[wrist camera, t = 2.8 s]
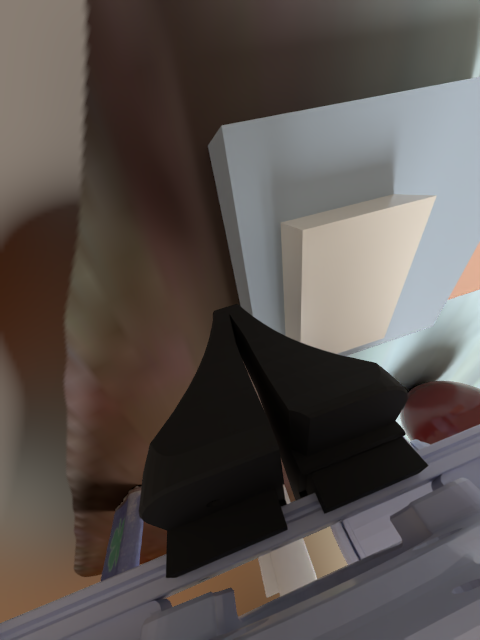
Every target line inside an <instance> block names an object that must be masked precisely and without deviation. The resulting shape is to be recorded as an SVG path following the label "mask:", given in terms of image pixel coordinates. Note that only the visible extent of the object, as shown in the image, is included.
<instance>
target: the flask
mask: <svg viewBox="0 0 480 640" xmlns="http://www.w3.org/2000/svg"><path fill="white" fill-rule="evenodd" d="M141 487H142V486H141ZM141 487H138V486H136V487H135V488H134V489H131V490H130V491H129V494H128V495H127V496H125V498H124V499H123V500H124V501H123V502H121V505H119V506H118V507H117V508H116V509H115V515H114V520H113V525H112V529H111V535H110V539H109V544H108V548H107V554H106V559H105V563H104V568H103V572H102V577H101V581H103V580H106V579H108V578H111V577H113V576H115V575H118V574H120V573H123V572H125V571H127V570H130V569H132V568H135V567H137V566H139V558H140V548H141V541H142V531H143V520H142V519H141V518H140V517H139V504H140V496H141Z"/></svg>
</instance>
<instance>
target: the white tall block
mask: <svg viewBox="0 0 480 640" xmlns="http://www.w3.org/2000/svg"><path fill="white" fill-rule="evenodd" d="M283 488H284V495H285V500H286V503H287V504H289V503H290V500H289V497H288V494H287V491H286V489H285V486H284V485H283ZM258 559H259V564H260V568H261V574H262V578H263V583H264V588H265V592H266V597H270V596H272V595H274V594H276V593H280V597H281V596H283V595H285V594H287V593H289V592H291V591H293V590H295V589H297V588H300V587H302V586H304V585H306V584H308V583H310V582H312V581H314V580H317V576H316V574H315V571H314V568H313V565H312V562H311V559H310V557H309V554H308V551H307V548H306V545H305V542H304V540H303V538H302V539H300V540H297V541H295V542H293V543H290V544H288V545H286V546H284V547H281V548H279V549H277V550H274V551H272V552H270V553H268V554H265V555H263V556H261V557H258Z"/></svg>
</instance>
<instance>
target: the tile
mask: <svg viewBox="0 0 480 640" xmlns="http://www.w3.org/2000/svg"><path fill="white" fill-rule="evenodd" d="M436 196H437V195H405V194H392V195H388V196H384V197H380V198H376V199H373V200H369V201H365V202H361V203H357V204H353V205H349V206H345V207H341V208H337V209H333V210H329V211H325V212H321V213H317V214H313V215H309V216H305V217H301V218H297V219H293V220H289V221H285V222H281V244H282V267H283V290H284V313H285V336H287V337H289V338H291V339H294V340H296V341H299V342H301V343H304V344H307V345H309V346H312V347H315V348H318V349H321V350H324V351H328V352H331V353H335V354H338V353H341V352H344V351H347V350H350V349H353V348H356V347H359V346H362V345H365V344H368V343H371V342H374V341H377V340H380V339H383V338H384V337H385V334H386V332H387V329H388V326H389V324H390V321H391V318H392V315H393V313H394V310H395V307H396V305H397V302H398V299H399V297H400V294H401V291H402V288H403V286H404V283H405V280H406V278H407V275H408V272H409V269H410V267H411V264H412V261H413V259H414V256H415V253H416V251H417V248H418V245H419V242H420V240H421V237H422V234H423V232H424V229H425V226H426V224H427V221H428V218H429V215H430V213H431V210H432V207H433V205H434V202H435V199H436Z"/></svg>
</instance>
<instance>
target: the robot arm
mask: <svg viewBox="0 0 480 640" xmlns="http://www.w3.org/2000/svg"><path fill="white" fill-rule="evenodd" d="M242 360H243V361H242ZM243 362H244V363H243ZM244 364H245V365H244ZM245 366H246V368H247V370H248V373H249V375H250V377H251V379H252V381H253V383H254V385H255V387H256V390H257V392H258V395H259V397H260V400H261V403H262V405H261V403H260V401H259V398H258V396H257V394H256V392H255V389H254V387H253V385H252V382H251V380H250V378H249V375H248V373H247V370H246V368H245ZM407 400H408V393H407V390H406V389H405V388H404V387H403V386H402V385H401V384H400V383H399V382H398V381H397V380H396V379H394V378H393V377H392V376H391V375H390V374H389V373H388V372H387V371H385V370H384V369H383V368H382V367H380V366H379V365H378V364H377V363H374V362H369V361H365V360H360V359H355V358H351V357H347V356H342V355H338V354H335V353H331V352H328V351H324V350H321V349H318V348H315V347H312V346H309V345H307V344H304V343H301V342H299V341H296V340H294V339H291V338H289V337H287V336H285V335H283V334H281V333H279V332H277V331H275V330H274V329H272V328H270V327H268V326H267V325H265V324H264V323H262V322H261V321H259V320H258V319H256V318H255V317H253V316H252V315H251V314H250V313H248V312H247V311H246V310H244V309H243V308H242V307H241V306H240V305H238V304H236V305H232V306H229V307H226V308H222V309H219V310H215V311H214V312H213V323H212V329H211V333H210V338H209V341H208V344H207V347H206V351H205V353H204V356H203V359H202V361H201V363H200V366H199V368H198V370H197V372H196V374H195V376H194V378H193V380H192V382H191V384H190V386H189V387H188V389H187V391H186V392H185V394H184V396H183V397H182V399H181V400H180V402H179V404H178V405H177V407H176V409H175V410H174V412H173V413H172V415H171V416H170V417H169V419H168V420H167V421H166V423H165V424H164V426H163V427H162V428H161V430H160V431H159V432H158V434H157V435H156V437H155V438H154V439H153V441H152V442H151V443H150V446H149V450H148V455H147V459H146V463H145V468H144V472H143V480H142V488H141V496H140V504H139V517H140V518H141V519H142V520H143V521H145V522H146V523H148V524H151V525H153V526H156V527H159V528H162V529H165V530H167V554H166V555H164V556H161V557H159V558H156V559H154V560H152V561H149V562H147V563H144V564H142V565H140V566H137V567H135V568H132V569H130V570H127V571H125V572H123V573H120V574H118V575H115V576H113V577H111V578H108V579H106V580H103V581H101V582H99V583H96V584H94V585H91V586H89V587H87V588H84V589H82V590H79V591H77V592H75V593H72V594H70V595H67V596H65V597H62V598H60V599H58V600H55V601H53V602H50V603H48V604H46V605H43V606H41V607H38V608H36V609H34V610H31V611H29V612H26V613H24V614H22V615H20V616H17V617H14V618H12V619H10V620H7V621H5V622H2V623H0V640H480V424H479V425H477V426H474V427H472V428H469V429H467V430H465V431H462V432H460V433H457V434H455V435H453V436H450V437H448V438H445V439H443V440H441V441H438V442H436V443H433V444H431V445H430V444H428V443H425V442H421V441H419V440H417V439H415V440H413V441H411V442H410V443H411V444H410V443H409V442H408V441H407V440H406V439H405V437H404V435H405V434H406V433H405V431H404V430H403V429H402V428H401V426H400V425H399V424H398V423H397V422H396V421H395V420H396V419H397V417H398V416H399V414H400V412H401V411H402V409H403V408H404V406H405V404H406V402H407ZM262 406H263V407H262ZM263 408H264V410H263ZM264 411H265V412H264ZM280 456H281V457H280ZM281 459H282V462H283V465H284V468H285V471H286V474H287V477H288V480H289V482H290V485H291V488H292V491H293V494H294V497H295V500H296V501H294V502H291V503H289V504H287V503H286V500H285V495H284V488H283V485H284V479H283V472H282V465H281ZM329 526H330V527H331V529H332V532H333V534H334V537H335V539H336V541H337V543H338V546H339V548H340V550H341V552H342V554H343V556H344V558H345V560H346V562H347V564H348V565H347V566H345V567H343V568H341V569H338V570H336V571H334V572H332V573H330V574H327V575H325V576H323V577H321V578H319V579H317V580H314V581H312V582H310V583H308V584H306V585H304V586H302V587H300V588H297V589H295V590H293V591H291V592H289V593H287V594H285V595H283V596H281V597H279V598H277V599H274V600H273V601H271V602H268V603H266V604H264V605H262V606H260V607H258V608H256V609H254V610H252V611H250V612H247V613H245V614H243V615H242V616H239V617H238V615H237V612H236V605H235V597H234V590H232V588H228V589H225V590H222V591H219V592H215V593H212V592H209V593H206V594H204V595H201V596H199V597H196V598H194V599H192V600H189V601H187V602H184V603H182V604H179V605H177V606H174V607H172V605H171V603H170V601H169V600H167V599H165V598H167V597H170V596H171V595H174V594H176V593H179V592H181V591H183V590H185V589H188V588H190V587H192V586H195V585H197V584H199V583H201V582H204V581H206V580H208V579H210V578H213V577H215V576H217V575H220V574H222V573H224V572H226V571H229V570H231V569H233V568H236V567H238V566H240V565H242V564H245V563H247V562H249V561H251V560H254V559H256V558H258V557H261V556H263V555H265V554H268V553H270V552H272V551H274V550H277V549H279V548H281V547H284V546H286V545H288V544H290V543H293V542H295V541H297V540H300V539H302V538H304V537H306V536H309V535H311V534H313V533H315V532H317V531H320V530H322V529H325V528H327V527H329Z"/></svg>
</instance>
